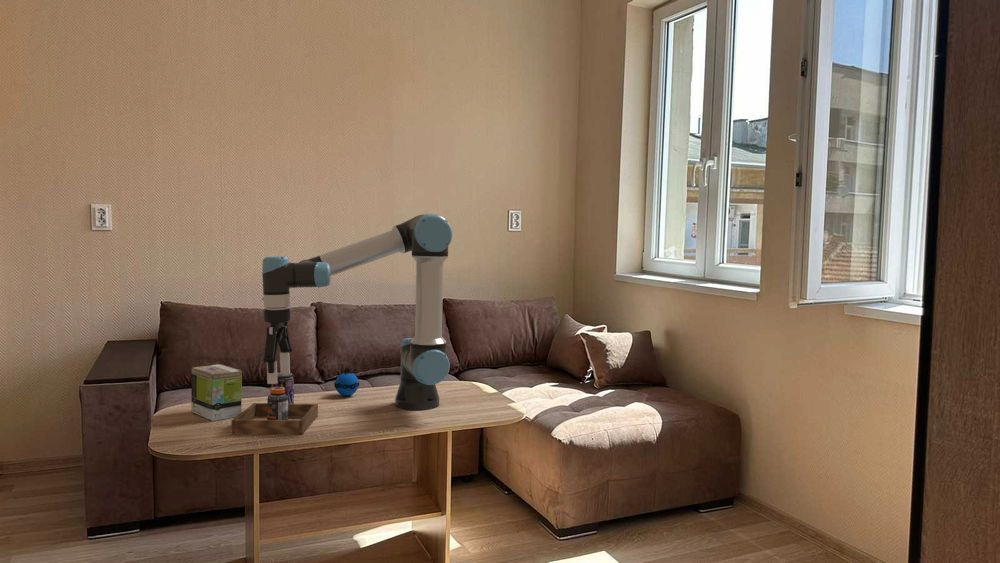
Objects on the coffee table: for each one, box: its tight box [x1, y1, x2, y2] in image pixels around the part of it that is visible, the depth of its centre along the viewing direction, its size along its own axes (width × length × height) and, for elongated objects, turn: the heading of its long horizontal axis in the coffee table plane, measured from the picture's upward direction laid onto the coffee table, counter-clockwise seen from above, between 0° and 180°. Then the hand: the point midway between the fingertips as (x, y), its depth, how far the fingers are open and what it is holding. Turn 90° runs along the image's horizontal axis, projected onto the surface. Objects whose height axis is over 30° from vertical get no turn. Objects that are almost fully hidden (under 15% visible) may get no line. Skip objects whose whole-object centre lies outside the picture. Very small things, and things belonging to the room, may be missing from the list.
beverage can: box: [270, 371, 295, 404], centre depth 226 cm, size 7×7×12 cm
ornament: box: [333, 367, 360, 397], centre depth 248 cm, size 9×9×10 cm
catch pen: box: [231, 402, 319, 436], centre depth 210 cm, size 20×20×4 cm
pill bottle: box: [266, 387, 289, 420], centre depth 209 cm, size 6×6×11 cm
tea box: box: [190, 363, 243, 422], centre depth 219 cm, size 15×10×15 cm, turn 47°
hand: (279, 378), depth 209 cm, fingers open, 13 cm apart
